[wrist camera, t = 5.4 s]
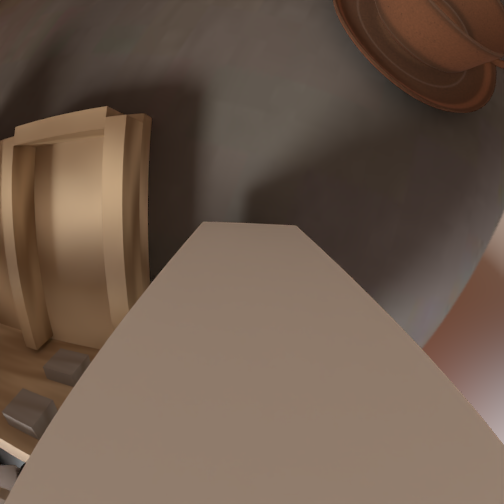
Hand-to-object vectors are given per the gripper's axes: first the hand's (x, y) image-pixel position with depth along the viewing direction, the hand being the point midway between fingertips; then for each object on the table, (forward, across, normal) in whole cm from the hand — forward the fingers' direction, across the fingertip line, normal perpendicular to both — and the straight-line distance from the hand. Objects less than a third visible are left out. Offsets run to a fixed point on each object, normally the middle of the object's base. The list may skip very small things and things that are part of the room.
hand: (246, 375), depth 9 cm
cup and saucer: (+7, -10, -17) cm, 21 cm away
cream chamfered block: (+4, 0, 0) cm, 4 cm away
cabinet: (+6, +13, -2) cm, 15 cm away
